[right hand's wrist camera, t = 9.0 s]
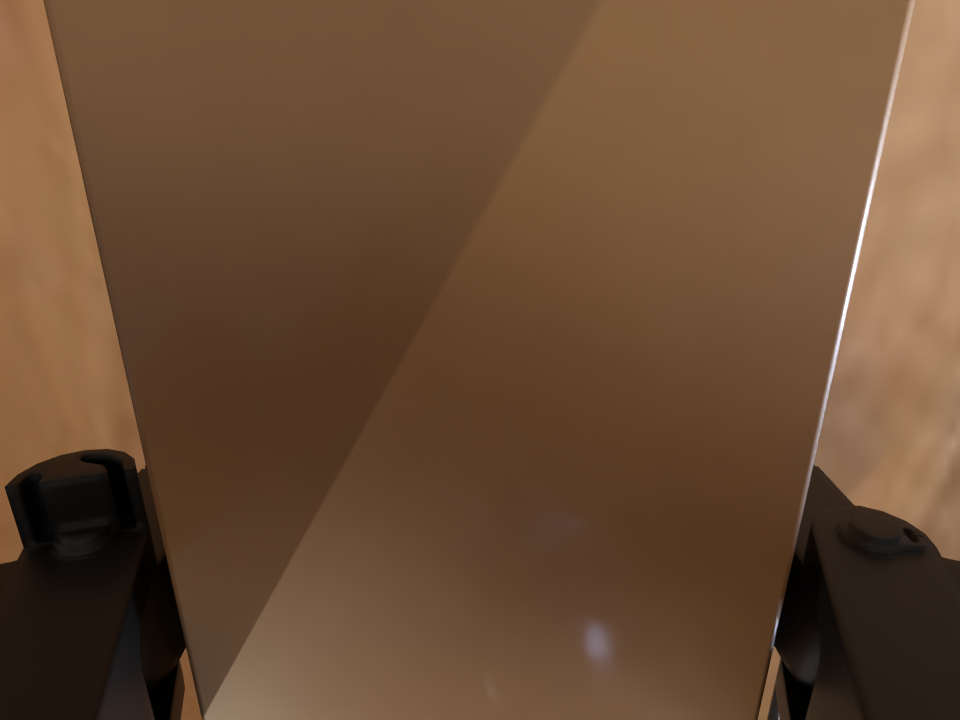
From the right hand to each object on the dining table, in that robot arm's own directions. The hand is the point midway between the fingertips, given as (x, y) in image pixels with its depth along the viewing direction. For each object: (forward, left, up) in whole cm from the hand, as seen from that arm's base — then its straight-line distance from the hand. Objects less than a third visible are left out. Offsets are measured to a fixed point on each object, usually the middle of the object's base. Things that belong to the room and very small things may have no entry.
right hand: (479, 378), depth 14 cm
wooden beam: (+12, -22, -1) cm, 25 cm away
